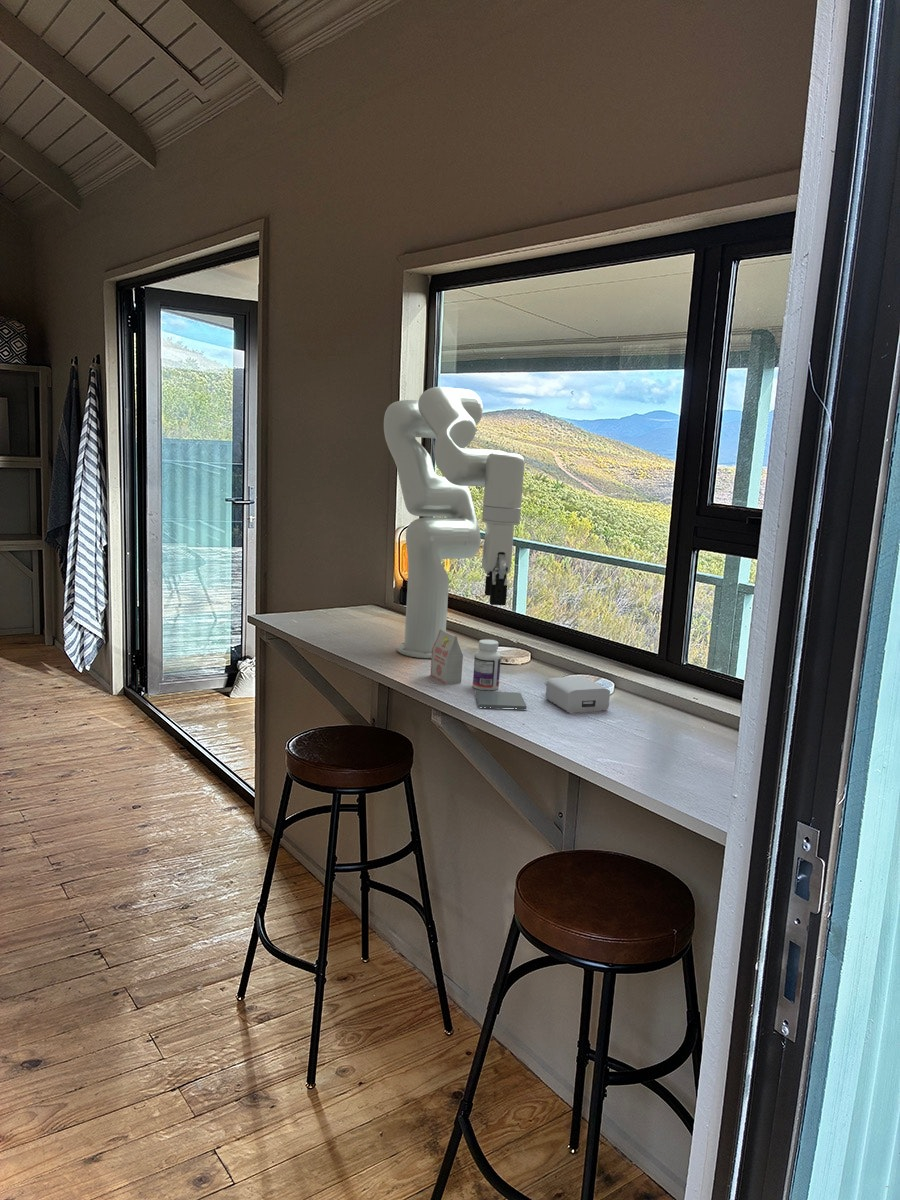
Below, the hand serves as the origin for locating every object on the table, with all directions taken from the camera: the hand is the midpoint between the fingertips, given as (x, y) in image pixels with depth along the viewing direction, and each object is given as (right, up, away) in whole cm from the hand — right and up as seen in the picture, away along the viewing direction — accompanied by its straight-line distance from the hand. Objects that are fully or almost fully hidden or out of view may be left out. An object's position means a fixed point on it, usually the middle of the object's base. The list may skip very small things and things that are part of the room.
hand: (494, 600), depth 184 cm
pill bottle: (-2, -18, +4) cm, 19 cm away
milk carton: (-10, -17, +8) cm, 21 cm away
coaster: (+1, -20, -6) cm, 21 cm away
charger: (+15, -21, -2) cm, 25 cm away
